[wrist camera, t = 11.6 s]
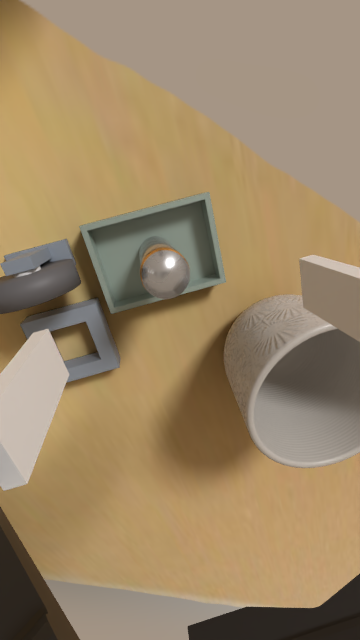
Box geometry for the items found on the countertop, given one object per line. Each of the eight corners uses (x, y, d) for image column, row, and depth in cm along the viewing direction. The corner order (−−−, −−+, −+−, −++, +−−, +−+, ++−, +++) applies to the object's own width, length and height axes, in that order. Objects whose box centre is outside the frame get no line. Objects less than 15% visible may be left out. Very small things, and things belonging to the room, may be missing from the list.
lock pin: (143, 274, 36) (148, 305, 25) (133, 240, 34) (133, 257, 23) (176, 265, 36) (196, 292, 25) (168, 231, 35) (184, 243, 24)
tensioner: (56, 376, 40) (32, 427, 31) (-2, 257, 34) (-54, 276, 24) (120, 358, 40) (115, 403, 31) (75, 236, 34) (52, 248, 25)
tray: (112, 306, 38) (111, 314, 35) (83, 224, 34) (79, 226, 31) (219, 276, 38) (226, 282, 35) (203, 192, 34) (209, 191, 31)
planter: (345, 319, 43) (446, 374, 29) (272, 403, 47) (330, 488, 33) (260, 254, 38) (334, 284, 24) (186, 356, 42) (211, 433, 28)
